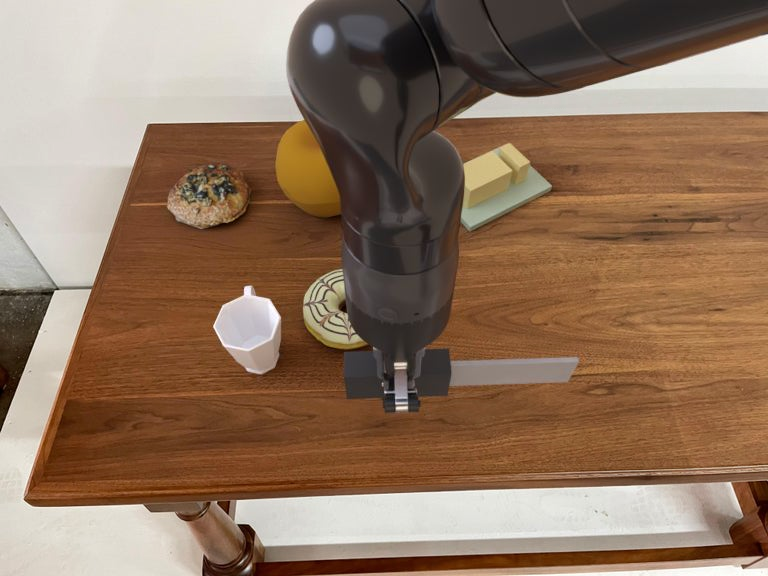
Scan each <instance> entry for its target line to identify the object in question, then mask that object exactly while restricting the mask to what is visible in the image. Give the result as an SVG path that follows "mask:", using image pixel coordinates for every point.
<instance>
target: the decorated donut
mask: <svg viewBox="0 0 768 576" xmlns="http://www.w3.org/2000/svg"><path fill="white" fill-rule="evenodd" d="M302 304H303V305H302V313H303V321H304V325H305V327H306V329H307V330H308V332H309V333H310V334H311V335H312V336H313V337H314V338H316V340H317V341H319V342H320V343H322V344H324V345H325V346H327V347H330V348H334V349H338V350H355V349H358V348H362V347H366V346H368V345H369V344H367V343H366V342H365V341H363V340H362V339H361V338H360V337H359V336H358V335H357V334H356V332H355V331H354V330H353V328H352V326H351V324H350V322H349V319H348V315H347V312H344V311H342V308H343V307H345V306H346V297H345V288H344V278H343V269H342V268H339V269H335V270H332V271H330V272H328V273H326V274H324V275H322V276H320V277H318V278H317V279H316V280H315V282H313V283H312V284H311V285H310V286H309V288H308V290H307V291H306V292H305V294H304V296H303V303H302Z"/></svg>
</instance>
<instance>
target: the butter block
mask: <svg viewBox="0 0 768 576" xmlns="http://www.w3.org/2000/svg"><path fill="white" fill-rule="evenodd" d="M490 151H491V152H490ZM490 151H488V152H485V153H484V154H481V155H482V156H481V155H479V156H480V157H479V156H477V157H478V158H477V157H474V158H473V159H471V160H469V162H468V161H466V162H467V163H466V162H464V163H465V164H464V163H463V165H464V173H465V190H464V200H463V205H464V206H465V207H466V208H467V209H468V208H470V207H472V206H474V205H477V204H479V203H481V202H483V201H485V200H487V199H489V198H491V197H493V196H495V195H497V194H499V193H501V192H503V191H505V190H507V189H509V184H510V180H511V176H512V172H513V170H512V169H511V168H510V167H509V166H508V165H507V164H505V163H504V162H503V161H502V160H501V159H500V158H499V157H498V156H497V155H496V154H495V153H494V152H493V151H492V150H490Z"/></svg>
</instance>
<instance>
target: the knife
mask: <svg viewBox="0 0 768 576" xmlns="http://www.w3.org/2000/svg"><path fill="white" fill-rule="evenodd" d="M450 353H451V352H450V349H449V348H425V355H424V356H423V357H422V358H421V371H420V376H419V377H416V378H414V380H415V386H413V388H416V389H417V395H418V398H423V397H425V398H428V397H447V396H448V395H449V389H450V387H463V386H465V387H467V386H495V385H496V386H497V385H521V384H522V385H524V384H526V385H527V384H529V385H530V384H554V383H555V384H556V383H568V382H569V381H570V379H571V378H572V375H573V373H574V372H575V370H576V368H577V367H578V365H579V363H580V360H579V357H578V356H569V357H567V356H566V357H540V358H539V357H536V358H504V359H503V358H502V359H475V360H473V359H472V360H451V354H450ZM383 358H384V353H383ZM384 359H385V358H384ZM343 380H344V388H345V389H344V390H345V395H346V400H363V399H364V400H366V399H382V398H384V387H382V381H384V380H383V379H381V378H379V377H378V376H377V359H376V358H374V356H373V350H361V351H359V350H357V351H356V350H355V351H344V352H343Z"/></svg>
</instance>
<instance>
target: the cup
mask: <svg viewBox="0 0 768 576" xmlns="http://www.w3.org/2000/svg"><path fill="white" fill-rule="evenodd" d="M243 288H244V289H243V295H241V296H239V297H237V298H235V299H233V300H231V301H229V302H227V303H224V304H223V305H222V306H221V308H220V310H219V312H218V315H217V317H216V319H215V321H214V324H213V326H212V327H213V329H214V331H215V333H216V335H217V337H218V339H219V340H220V342H221V345H222V346H223V347H224V349H225V350H226V351H227V352H228V353H229V354H230V356H231V357H232V358H233V359H234V360H235V361H236V363H237V364H239V365H241V366H242V367H243V368H245V370H246V372H248V373H252V374H257V375H264V374H265V373H267V372H270V371H272V370H273V369H275V368H276V365H277V363H278V360H279V357H280V352H279V350H280V346H281V341H282V317H281V315H280V313H279V312H278V310H277V309H276V306H275V305H274V303H273V302H272V300H271V298H267V297H262V296H257V293H256V290H255V288H254V286H253V285H252V284H251V285H245V286H244V287H243Z"/></svg>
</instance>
